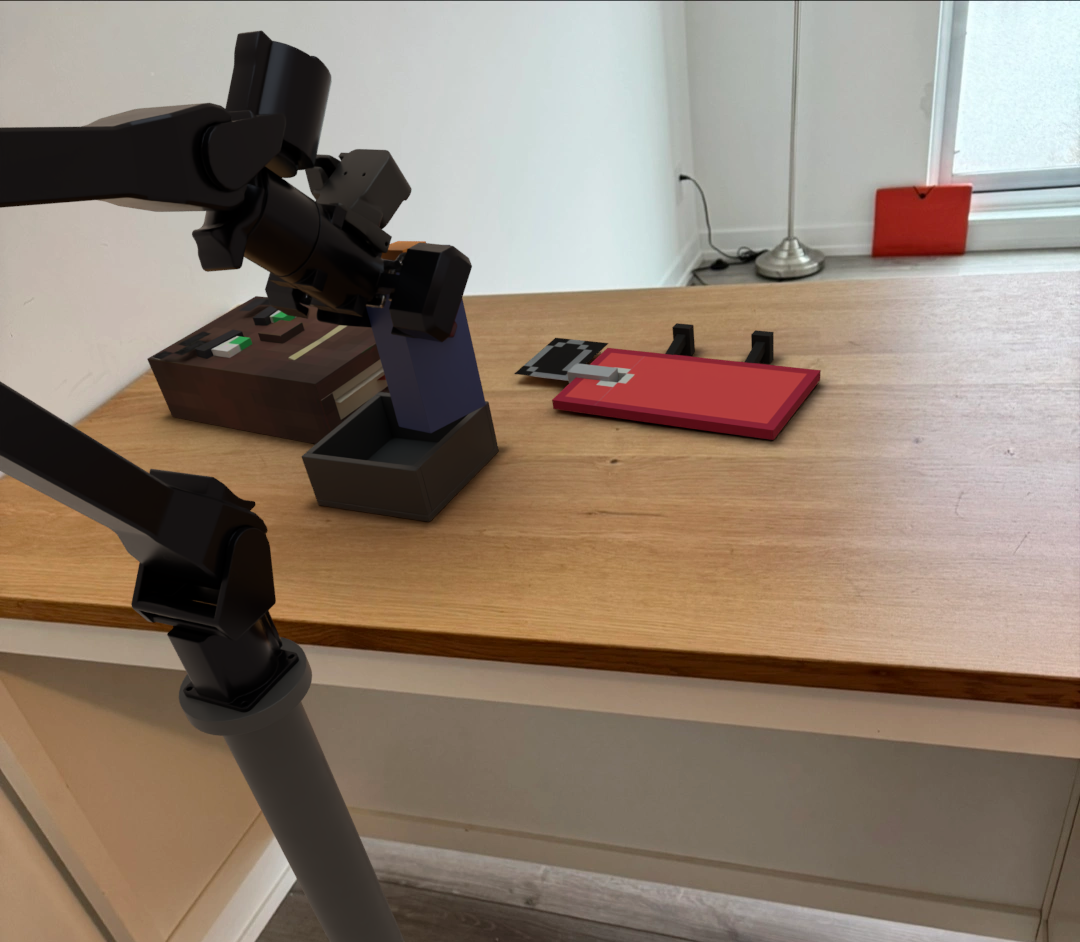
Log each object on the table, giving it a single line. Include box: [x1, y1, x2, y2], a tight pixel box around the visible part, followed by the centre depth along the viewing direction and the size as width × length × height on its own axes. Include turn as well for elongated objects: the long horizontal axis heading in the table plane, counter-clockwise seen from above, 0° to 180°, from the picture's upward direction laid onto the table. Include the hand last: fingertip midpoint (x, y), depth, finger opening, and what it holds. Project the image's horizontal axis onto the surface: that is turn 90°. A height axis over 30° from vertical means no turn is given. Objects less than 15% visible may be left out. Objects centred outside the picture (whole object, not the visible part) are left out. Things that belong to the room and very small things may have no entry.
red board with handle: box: [514, 322, 822, 441], centre depth 99 cm, size 30×3×15 cm
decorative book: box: [147, 291, 390, 445], centre depth 110 cm, size 19×8×30 cm
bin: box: [300, 392, 500, 523], centre depth 92 cm, size 12×12×5 cm
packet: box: [366, 240, 486, 433], centre depth 83 cm, size 6×4×14 cm
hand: (433, 327), depth 84 cm, fingers closed on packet, 4 cm apart
